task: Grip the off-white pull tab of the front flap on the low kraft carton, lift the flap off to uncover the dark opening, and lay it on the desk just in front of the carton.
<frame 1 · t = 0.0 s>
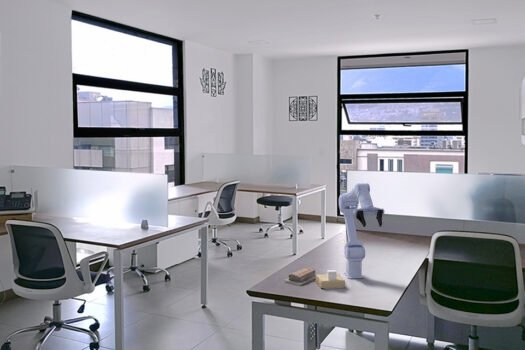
hand: (372, 225, 233), 32 cm above the table, tool tilted 50°, fingers open, 7 cm apart
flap: (331, 280, 246), point 3 cm above the table, touching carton
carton: (330, 284, 250), on the table
packaged product: (301, 280, 258), on the table
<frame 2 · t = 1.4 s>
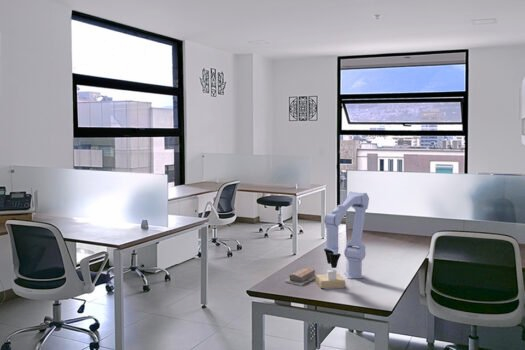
hand: (331, 265, 246), 10 cm above the table, tool pointing down, fingers open, 7 cm apart
nothing on the table moved.
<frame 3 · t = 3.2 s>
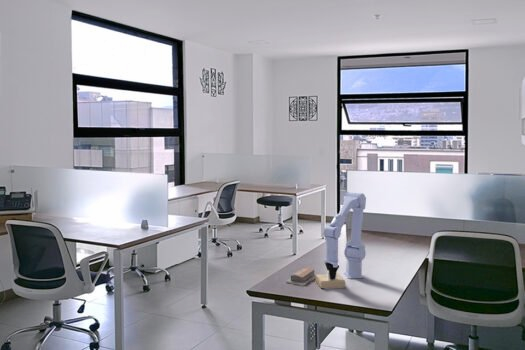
hand: (331, 278, 246), 4 cm above the table, tool pointing down, fingers closed on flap, 3 cm apart
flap: (331, 280, 246), point 3 cm above the table, touching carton, gripper
everything else where it was.
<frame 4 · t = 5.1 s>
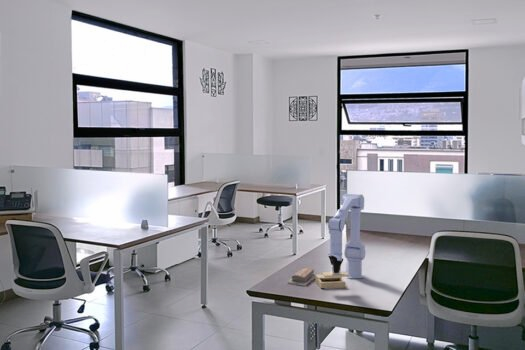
hand: (335, 271, 239), 9 cm above the table, tool pointing down, fingers closed on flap, 3 cm apart
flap: (335, 275, 239), point 8 cm above the table, touching gripper
when the fingers open (2 cm above the table, at t = 7.0 s): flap drops 1 cm, on the table.
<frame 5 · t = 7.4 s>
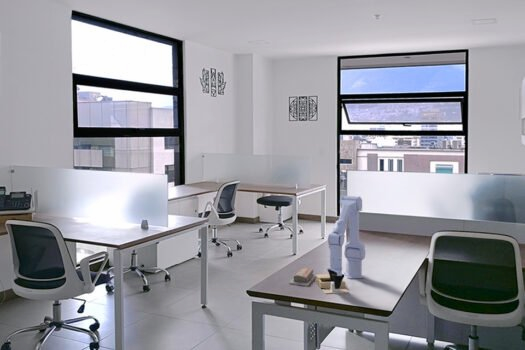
hand: (335, 286, 239), 2 cm above the table, tool pointing down, fingers open, 7 cm apart
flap: (335, 292, 239), on the table
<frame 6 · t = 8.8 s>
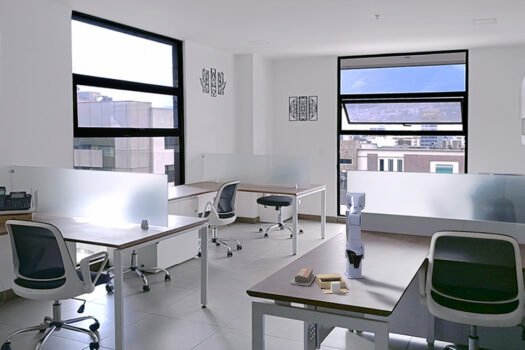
hand: (354, 266, 246), 10 cm above the table, tool pointing down, fingers open, 7 cm apart
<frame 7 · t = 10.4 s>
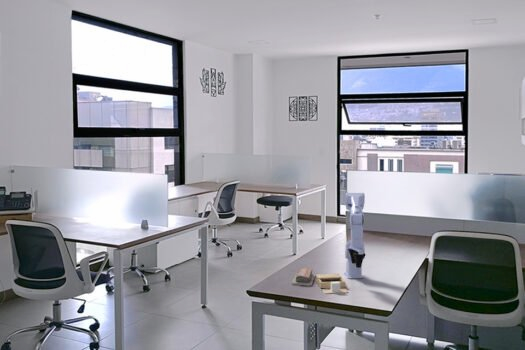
hand: (356, 265, 246), 10 cm above the table, tool pointing down, fingers open, 7 cm apart
at the end: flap inside the target area (0.8 cm from its centre), on the table; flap touching table; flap tilted 0° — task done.
